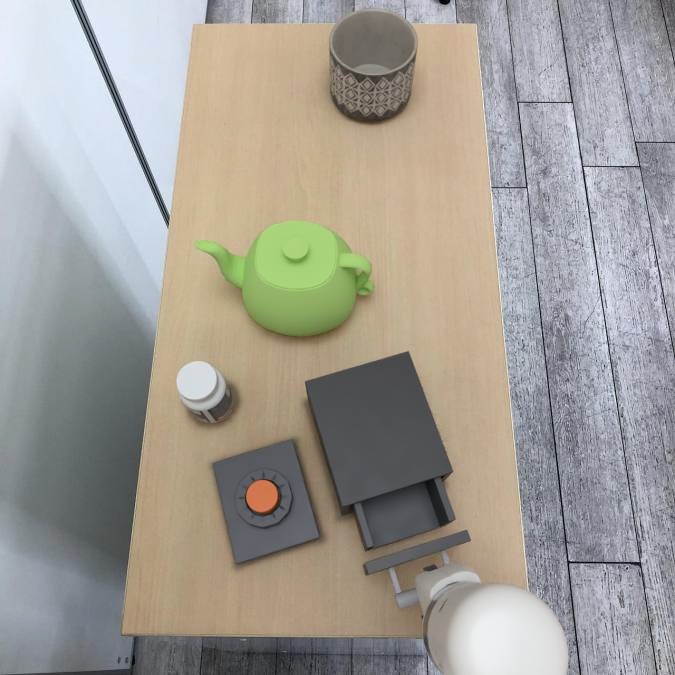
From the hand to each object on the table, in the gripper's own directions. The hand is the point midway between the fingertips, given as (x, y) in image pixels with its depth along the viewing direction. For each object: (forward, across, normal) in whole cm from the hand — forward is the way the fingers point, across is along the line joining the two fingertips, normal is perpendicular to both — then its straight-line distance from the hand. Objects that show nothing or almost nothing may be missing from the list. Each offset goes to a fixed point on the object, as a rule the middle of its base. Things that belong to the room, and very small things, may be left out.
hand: (437, 618), depth 66 cm
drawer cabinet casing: (+6, +21, 0) cm, 22 cm away
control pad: (+6, +18, +14) cm, 24 cm away
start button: (+3, +18, +14) cm, 23 cm away
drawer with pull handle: (+5, +11, 0) cm, 12 cm away
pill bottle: (+7, +32, +18) cm, 37 cm away
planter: (+7, +74, -17) cm, 76 cm away
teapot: (+7, +44, +4) cm, 44 cm away
